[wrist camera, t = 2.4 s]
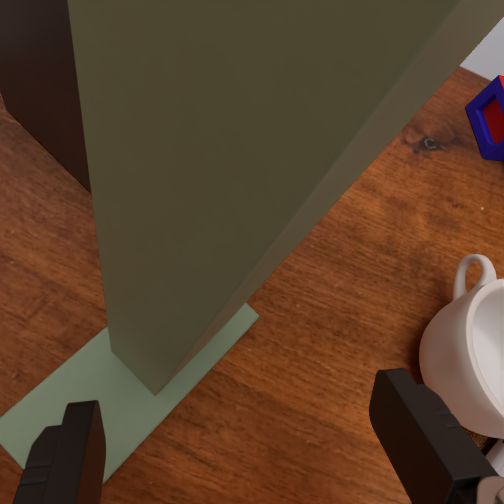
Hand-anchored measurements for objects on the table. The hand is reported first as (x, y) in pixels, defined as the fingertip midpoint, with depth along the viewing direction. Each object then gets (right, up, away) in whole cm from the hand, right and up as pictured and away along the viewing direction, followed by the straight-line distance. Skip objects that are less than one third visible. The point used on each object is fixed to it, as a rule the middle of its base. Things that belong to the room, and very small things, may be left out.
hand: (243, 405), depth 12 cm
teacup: (+12, -2, +14) cm, 18 cm away
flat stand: (-5, -1, +9) cm, 10 cm away
